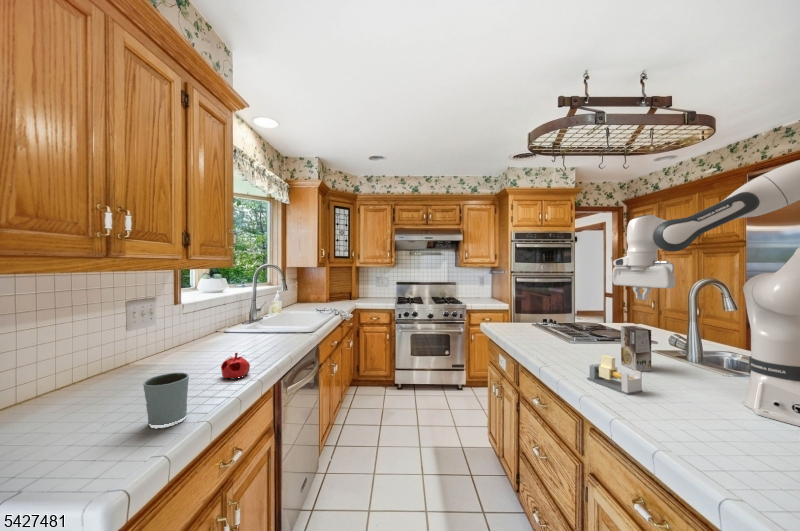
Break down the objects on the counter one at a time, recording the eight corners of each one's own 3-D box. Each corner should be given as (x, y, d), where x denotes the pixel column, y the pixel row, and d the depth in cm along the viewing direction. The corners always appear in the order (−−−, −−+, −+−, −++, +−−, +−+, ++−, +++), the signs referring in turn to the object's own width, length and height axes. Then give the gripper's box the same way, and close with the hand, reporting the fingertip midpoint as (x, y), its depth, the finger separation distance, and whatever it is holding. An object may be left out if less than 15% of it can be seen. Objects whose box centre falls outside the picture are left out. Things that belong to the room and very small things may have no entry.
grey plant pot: (195, 412, 96) (195, 371, 96) (178, 429, 86) (178, 383, 86) (157, 415, 94) (156, 373, 94) (135, 433, 84) (134, 386, 84)
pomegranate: (234, 372, 132) (234, 349, 132) (255, 373, 130) (255, 350, 130) (214, 380, 123) (214, 355, 123) (236, 382, 120) (236, 356, 120)
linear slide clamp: (642, 391, 108) (642, 371, 108) (626, 394, 106) (626, 374, 106) (601, 377, 122) (601, 359, 122) (586, 379, 120) (586, 361, 120)
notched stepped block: (617, 378, 114) (617, 357, 114) (609, 380, 113) (609, 358, 113) (607, 375, 118) (606, 354, 118) (598, 376, 117) (598, 355, 117)
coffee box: (652, 371, 128) (652, 329, 128) (635, 371, 128) (635, 330, 128) (635, 364, 137) (635, 325, 137) (620, 364, 137) (620, 325, 137)
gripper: (680, 260, 109) (680, 302, 109) (621, 261, 128) (621, 296, 129) (667, 260, 107) (667, 303, 107) (609, 261, 126) (609, 297, 127)
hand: (641, 299), depth 118 cm, fingers closed
